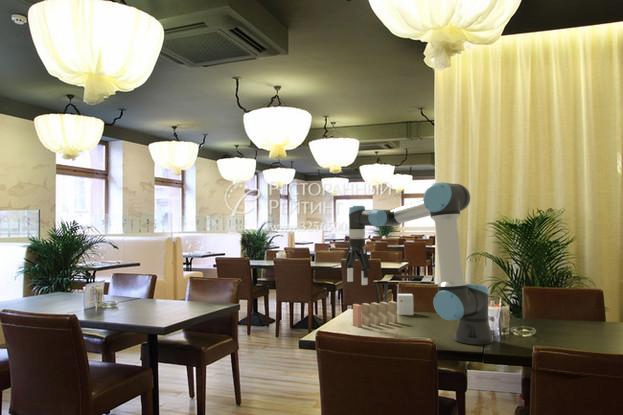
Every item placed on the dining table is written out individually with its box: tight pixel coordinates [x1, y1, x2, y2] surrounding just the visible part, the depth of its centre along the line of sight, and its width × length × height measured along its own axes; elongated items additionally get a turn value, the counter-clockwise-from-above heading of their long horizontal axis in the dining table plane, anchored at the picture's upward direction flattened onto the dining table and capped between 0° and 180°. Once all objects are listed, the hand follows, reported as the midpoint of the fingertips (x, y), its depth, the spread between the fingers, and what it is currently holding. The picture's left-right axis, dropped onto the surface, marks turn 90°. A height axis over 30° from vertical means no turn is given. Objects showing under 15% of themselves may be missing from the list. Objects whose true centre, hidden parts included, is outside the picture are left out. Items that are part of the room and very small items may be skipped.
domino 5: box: [387, 300, 398, 324], centre depth 247 cm, size 2×5×10 cm, turn 25°
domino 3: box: [370, 302, 381, 326], centre depth 243 cm, size 2×5×10 cm, turn 25°
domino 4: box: [379, 301, 390, 325], centre depth 245 cm, size 2×5×10 cm, turn 25°
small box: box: [397, 293, 415, 316], centre depth 268 cm, size 8×6×10 cm
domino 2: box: [361, 302, 372, 327], centre depth 241 cm, size 2×5×10 cm, turn 25°
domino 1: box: [352, 303, 363, 328], centre depth 239 cm, size 2×5×10 cm, turn 25°
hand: (357, 283), depth 239 cm, fingers open, 13 cm apart
